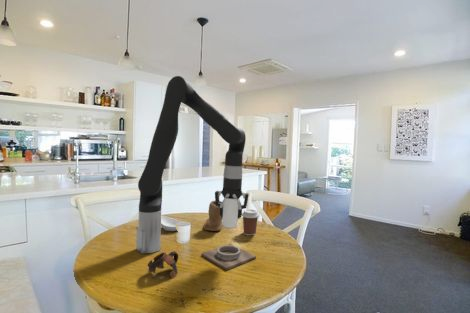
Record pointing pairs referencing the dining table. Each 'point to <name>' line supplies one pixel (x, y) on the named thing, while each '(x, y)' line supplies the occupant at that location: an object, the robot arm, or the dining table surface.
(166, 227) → the spoon rest
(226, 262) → the collar board
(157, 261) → the brown arched figurine
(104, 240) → the dining table surface
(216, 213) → the brown boot vase
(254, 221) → the coffee cup
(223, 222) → the can
